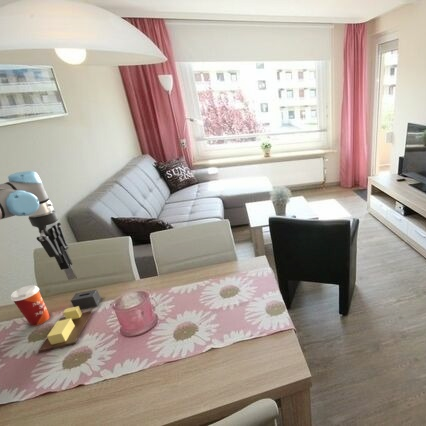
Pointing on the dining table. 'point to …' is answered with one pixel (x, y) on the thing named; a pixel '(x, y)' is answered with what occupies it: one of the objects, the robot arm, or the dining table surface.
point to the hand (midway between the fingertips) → (66, 266)
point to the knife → (69, 271)
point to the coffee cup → (31, 304)
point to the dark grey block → (86, 299)
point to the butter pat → (72, 313)
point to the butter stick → (61, 331)
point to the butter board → (73, 336)
